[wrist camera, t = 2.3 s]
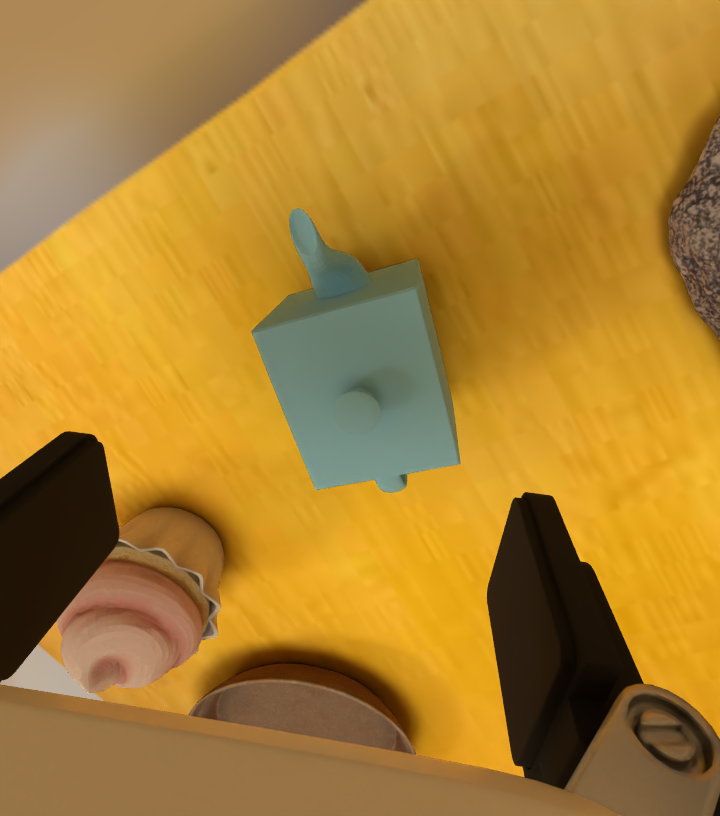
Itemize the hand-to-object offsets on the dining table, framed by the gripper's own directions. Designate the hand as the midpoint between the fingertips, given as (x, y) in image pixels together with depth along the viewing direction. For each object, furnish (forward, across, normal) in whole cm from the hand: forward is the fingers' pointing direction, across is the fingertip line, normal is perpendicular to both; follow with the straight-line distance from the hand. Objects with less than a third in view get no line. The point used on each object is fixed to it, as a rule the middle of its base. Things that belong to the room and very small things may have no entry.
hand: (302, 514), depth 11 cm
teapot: (+14, 0, 0) cm, 14 cm away
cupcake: (+14, +11, +16) cm, 24 cm away
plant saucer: (+14, +2, +33) cm, 36 cm away
